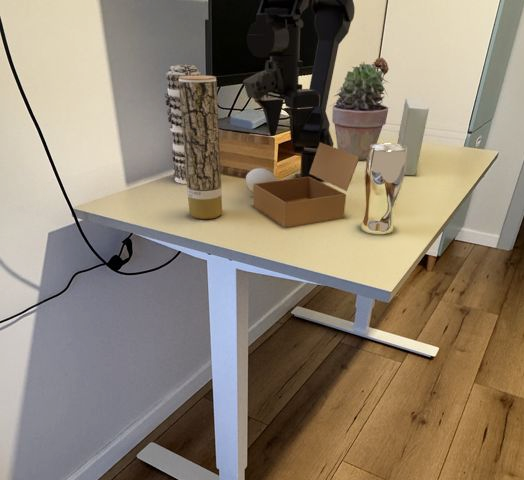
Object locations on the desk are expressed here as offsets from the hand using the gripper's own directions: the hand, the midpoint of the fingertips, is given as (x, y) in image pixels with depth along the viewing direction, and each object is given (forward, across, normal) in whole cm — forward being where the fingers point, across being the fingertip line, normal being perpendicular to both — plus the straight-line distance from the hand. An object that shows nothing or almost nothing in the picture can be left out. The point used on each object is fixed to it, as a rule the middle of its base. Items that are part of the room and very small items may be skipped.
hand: (282, 139), depth 106 cm
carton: (+12, +11, -3) cm, 17 cm away
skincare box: (+12, -8, +44) cm, 47 cm away
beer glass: (+12, +27, +6) cm, 30 cm away
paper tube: (+12, +4, -20) cm, 24 cm away
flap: (+4, +12, +5) cm, 13 cm away
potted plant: (+12, -24, +38) cm, 46 cm away
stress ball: (+12, -4, -3) cm, 13 cm away
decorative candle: (+12, -23, -13) cm, 29 cm away
